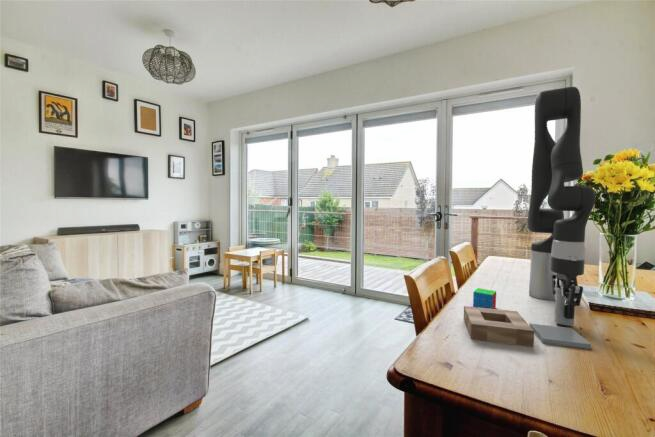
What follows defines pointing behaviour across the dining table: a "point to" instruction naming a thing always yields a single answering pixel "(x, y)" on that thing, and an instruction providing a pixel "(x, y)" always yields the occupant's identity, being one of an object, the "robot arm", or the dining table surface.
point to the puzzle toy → (484, 298)
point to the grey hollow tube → (561, 309)
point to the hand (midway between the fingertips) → (564, 314)
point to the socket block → (498, 326)
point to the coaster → (560, 336)
